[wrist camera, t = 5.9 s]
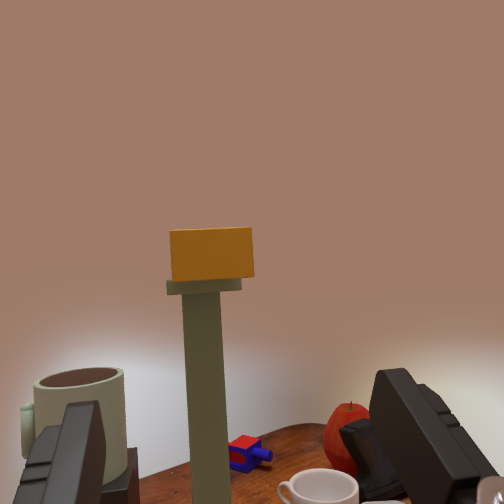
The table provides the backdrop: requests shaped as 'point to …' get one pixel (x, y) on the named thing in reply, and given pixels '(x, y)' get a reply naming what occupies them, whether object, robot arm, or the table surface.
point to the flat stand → (206, 387)
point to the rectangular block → (211, 254)
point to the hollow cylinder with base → (113, 416)
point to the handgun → (370, 462)
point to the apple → (332, 437)
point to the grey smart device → (383, 502)
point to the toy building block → (247, 453)
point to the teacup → (321, 488)
